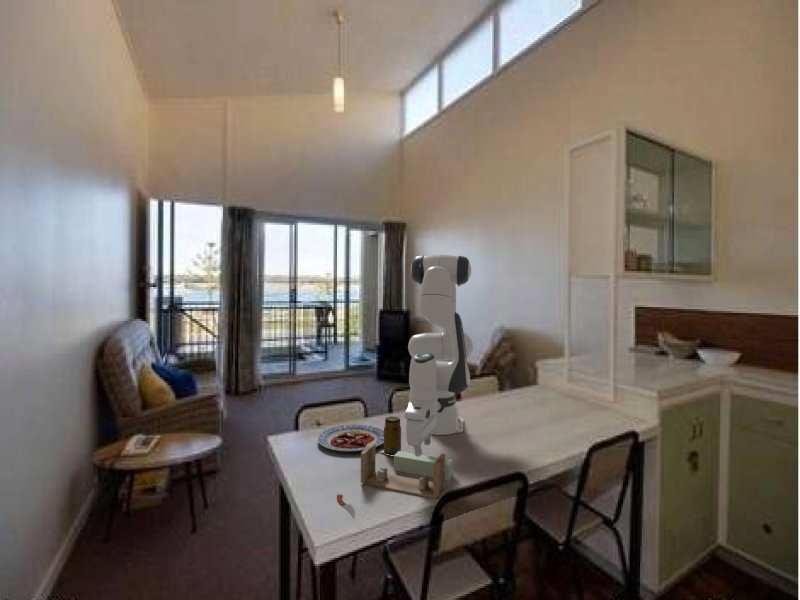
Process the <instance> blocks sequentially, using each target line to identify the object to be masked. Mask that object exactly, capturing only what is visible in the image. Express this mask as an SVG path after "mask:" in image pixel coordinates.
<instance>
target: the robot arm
mask: <svg viewBox="0 0 800 600" xmlns="http://www.w3.org/2000/svg"><path fill="white" fill-rule="evenodd" d="M410 274H411V279H412V280H413V281H414V282H415V283H417V284H419V285H421V287H420V294H419V312H420V314H421V316H422V317H423V319H425V320H426V321H428V323H430V324H432V325H435V326H437V327H439V328H441V330H442V331H441V332H423V333H418V334H414V335H412V336H411V337H410V339H409V341H408V346H407V349H408V353H409V355H410V356H411V359H410V365H409V373H408V374H409V375H408V377H409V378H408V382H409V383H408V385H409V388H410V391H409V393H408V395H409V396H408V405H407V408H406V410H405V412H404V419H407V420H406V425H405V427H406V429H405V430H406V431H405V432H406V433H405V434H406V443H407V444H408V446H411V447H413V450H414V454H415V456H418V457H420V456H421V455H423V454H422V453H423V449H422V444H424V445H425V446H430V445H431V443H432V441H431V439H432V435H434V436H435V435H437V436H445V435H452V434H458V433H460V434H461V433H464V421H465V420H464V417H461V416H459V407H458V405H457V404H456V394H461V393H463V392H465V390H467V389H468V388H469V387H470V383H471V376H470V375H471V374H470V370H469V369H470V368H469V365H468V358H469V357H470V356H471V355H472V353H473V348H474V345H473V344H474V343H473V341H472V339H471V337H470V336H469V335H468V334H467V333H466V332H465V331H464V327H463V322H462V318H461V316H460V314H459V313H457V287H461V286H462V285H465V284H466V283H467V282H469V279H470V277H471V275H472V266H471V262H470V260H469V259H468V257H467V256H463V255H458V256H457V255H450V254H433V255H432V254H431V255H418V256H415V257H414V258H413V259H412V262H411V264H410ZM456 285H457V286H456ZM423 442H424V443H423Z"/></svg>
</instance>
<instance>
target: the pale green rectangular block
mask: <svg viewBox="0 0 800 600" xmlns="http://www.w3.org/2000/svg"><path fill="white" fill-rule="evenodd" d="M408 452H409V451H407V452H402V451H398V452H397V453H396V454H395V455H394V458H393V471H395V470H396V472H400V471H401V473H406V474H412V475H417V476H421V477H422V474H428V475H429V478H432V479H434V464H435V462H436V461H437V459H438V458H439V457H438V456H437V457H435V456H429V455H425V454H421V456H420V457H418V456H415V453H414V452H413V453H412V452H410V453H408ZM452 476H453V459H448V458H445V481H448V482H449V480H450V479H451V478H452Z"/></svg>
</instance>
